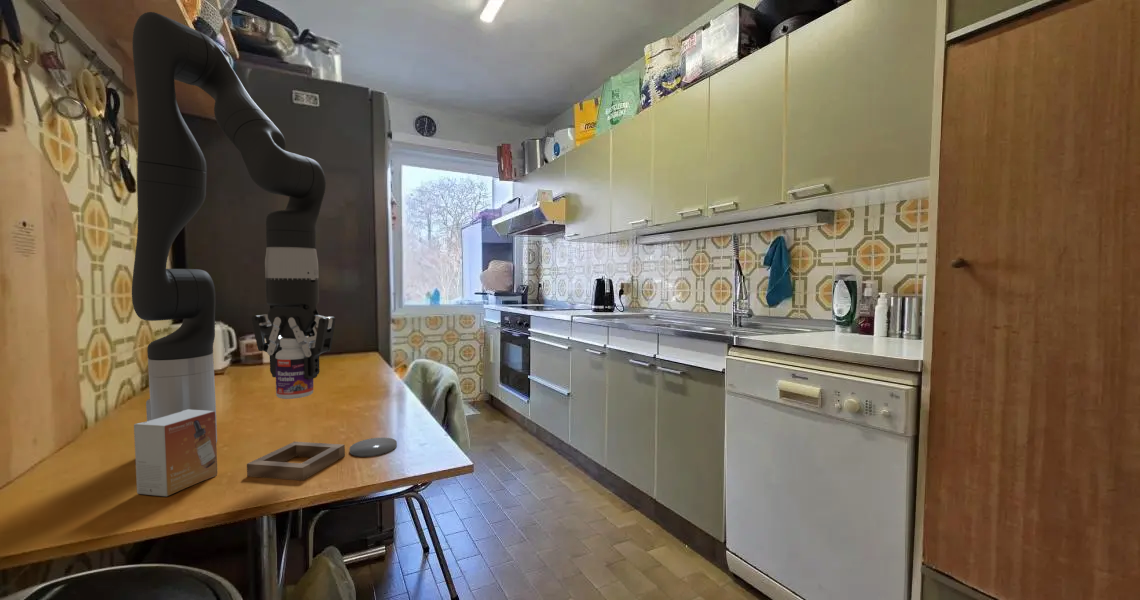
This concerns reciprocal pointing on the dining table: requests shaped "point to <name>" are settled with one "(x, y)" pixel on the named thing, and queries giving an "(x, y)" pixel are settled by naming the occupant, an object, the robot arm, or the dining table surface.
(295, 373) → the pill bottle
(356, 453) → the coaster
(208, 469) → the small box
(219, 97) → the robot arm
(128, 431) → the dining table surface
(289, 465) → the frame
